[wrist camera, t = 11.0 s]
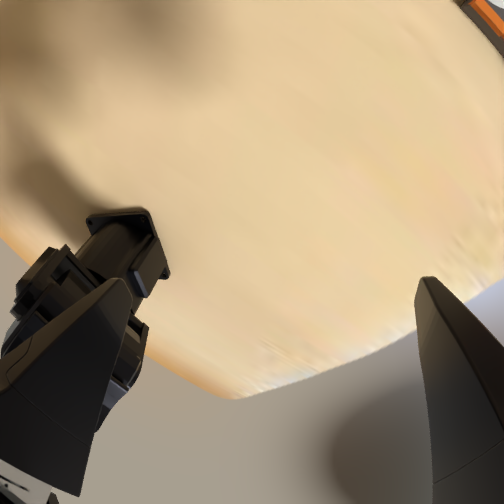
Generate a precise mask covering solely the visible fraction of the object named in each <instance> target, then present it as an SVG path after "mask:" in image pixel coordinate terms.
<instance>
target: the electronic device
mask: <svg viewBox="0 0 504 504" xmlns="http://www.w3.org/2000/svg"><path fill="white" fill-rule="evenodd" d="M460 9H461V10H462V11H463V12H464V13H465V14H466V15H467V16H468V17H469V18H470V19H471V20H472V21H473V22H474V23H475V24H476V25H477V27H478V28H479V29H480V30H481V31H482V32H483V33H484V34H485V36H486V37H487V38H488V39H489V40H490V42H491V43H492V44H493V45H494V46H495V48H496V49H497V50H498V51H499V53H500V54H501V55H502V56H503V58H504V0H466V1H465V2H464V3H463V5H462V6H461V7H460Z"/></svg>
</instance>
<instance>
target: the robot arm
mask: <svg viewBox="0 0 504 504" xmlns="http://www.w3.org/2000/svg"><path fill="white" fill-rule="evenodd" d="M143 217H144V218H146V220H145V219H144V218H143ZM91 221H92V222H91ZM86 224H87V226H88V228H89V231H90V233H91V236H90V238H89V239H88V240H87V241H86V242H85V243H84V244H83V246H82V247H81V248H80V249H79V250H78V251H77V253H76V254H75V255H74V254H73V253H72V252H71V251H70V250H71V249H70V248H69V247H68V246H67V245H66V244H65V245H64V246H63V247H62V248H61V249H60V250H58V249H54V248H52V247H48V248H47V249H46V251H45V252H44V253H43V254H42V255H41V256H40V257H39V258H38V259H37V261H36V262H35V263H34V264H33V265H32V266H31V267H30V269H29V270H28V271H27V272H26V273H25V274H24V275H23V277H22V278H21V279H20V280H19V281H18V283H17V284H16V298H15V300H14V302H15V304H14V306H13V307H12V309H11V310H10V313H11V314H12V315H13V316H14V317H15V318H16V320H15V321H14V322H13V324H12V325H11V326H10V328H9V329H8V331H7V333H6V336H5V339H4V342H3V345H2V349H1V359H0V504H59V502H58V500H57V497H56V495H55V494H54V493H52V492H51V489H52V487H55V488H57V489H60V490H62V491H64V492H67V493H69V494H71V495H74V496H77V497H79V496H80V493H81V488H82V484H83V479H84V474H85V470H86V465H87V462H88V457H89V453H90V449H91V444H92V441H93V437H94V433H95V432H97V430H99V428H100V426H101V425H102V423H103V421H104V420H105V418H106V416H107V415H108V413H109V412H110V410H111V409H112V408H113V406H114V405H115V404H116V403H117V402H118V400H119V399H121V398H122V397H123V396H124V395H125V394H126V393H127V392H128V390H129V389H130V388H131V387H132V386H133V384H134V383H135V381H136V380H137V378H138V376H139V374H140V371H141V367H142V362H143V356H144V351H145V346H146V341H147V336H148V331H149V327H148V326H147V325H146V324H145V323H142V322H141V321H140V320H139V319H138V318H137V317H135V316H134V315H135V313H136V311H137V309H138V308H139V306H140V304H141V302H142V300H143V298H148V296H149V295H150V293H151V291H152V290H153V288H154V286H155V284H156V282H157V280H158V279H163V280H166V279H168V278H169V276H170V270H169V267H168V265H167V260H166V257H165V254H164V251H163V249H162V246H161V243H160V240H159V238H158V236H157V233H156V230H155V227H154V224H153V221H152V218H151V216H150V214H149V213H148V212H146V211H140V212H126V213H112V214H100V215H90V216H89V217H88V218H87V219H86ZM414 307H415V315H416V325H417V335H418V347H419V355H420V362H421V368H422V373H423V380H424V387H425V394H426V401H427V409H428V417H429V428H430V439H431V452H432V475H433V476H432V477H433V504H504V347H503V346H502V344H501V343H500V342H499V341H498V340H497V339H496V338H495V337H494V336H493V334H492V333H491V332H490V331H489V330H488V329H487V328H486V327H485V326H484V325H483V324H482V323H481V322H480V321H479V320H478V318H477V317H476V316H475V315H474V314H473V313H472V312H471V311H470V310H469V309H468V308H467V307H466V306H465V305H464V304H463V303H462V302H461V301H460V300H459V299H458V298H457V297H456V296H455V295H454V294H453V293H452V292H451V291H450V290H449V289H448V288H446V287H445V286H444V285H443V284H442V283H441V282H440V281H439V280H438V279H437V278H436V277H434V276H426V277H422V278H421V279H420V281H419V284H418V288H417V292H416V295H415V300H414Z"/></svg>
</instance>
